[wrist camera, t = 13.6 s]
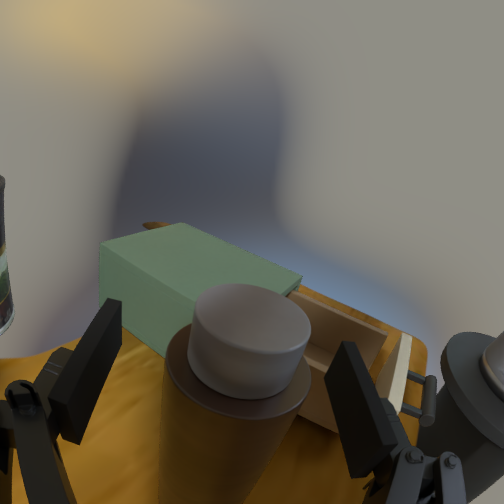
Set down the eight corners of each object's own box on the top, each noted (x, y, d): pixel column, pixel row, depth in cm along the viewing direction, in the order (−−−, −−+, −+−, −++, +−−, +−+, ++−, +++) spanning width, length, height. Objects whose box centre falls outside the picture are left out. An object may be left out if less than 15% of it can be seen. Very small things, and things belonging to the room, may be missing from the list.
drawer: (418, 392, 28) (446, 351, 26) (405, 471, 19) (447, 429, 16) (264, 320, 36) (278, 276, 34) (204, 371, 26) (214, 318, 24)
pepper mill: (248, 498, 17) (349, 314, 11) (207, 547, 12) (296, 402, 6) (188, 461, 18) (231, 260, 13) (142, 502, 14) (134, 303, 8)
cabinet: (282, 334, 36) (302, 275, 33) (220, 396, 25) (239, 326, 22) (174, 275, 43) (182, 222, 40) (99, 307, 32) (99, 242, 29)
